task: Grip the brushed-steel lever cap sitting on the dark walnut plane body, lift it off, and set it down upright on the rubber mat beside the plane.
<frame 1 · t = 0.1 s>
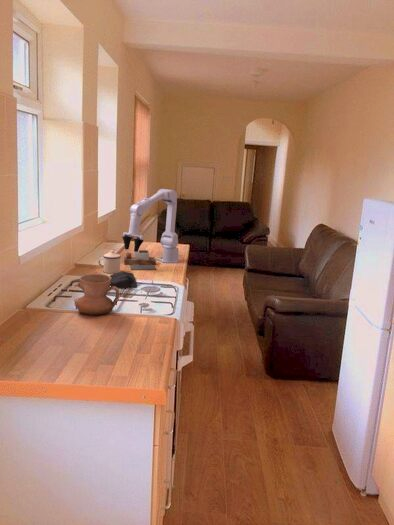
hand: (131, 250, 249), 11 cm above the counter, tool pointing down, fingers open, 7 cm apart
rubber mat: (143, 268, 255), on the counter
dark slate chunk: (121, 283, 224), on the counter
teacup with lid: (109, 271, 243), on the counter
plane body: (139, 263, 266), on the counter
ceramic jug: (96, 312, 179), on the counter
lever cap: (141, 258, 265), point 3 cm above the counter, touching plane body
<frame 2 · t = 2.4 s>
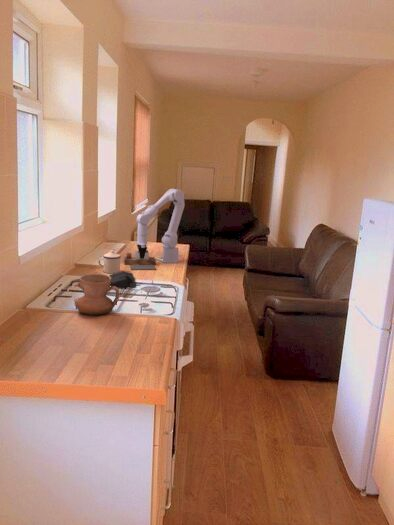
hand: (141, 257, 265), 4 cm above the counter, tool pointing down, fingers closed on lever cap, 5 cm apart
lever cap: (141, 258, 265), point 3 cm above the counter, touching gripper, plane body
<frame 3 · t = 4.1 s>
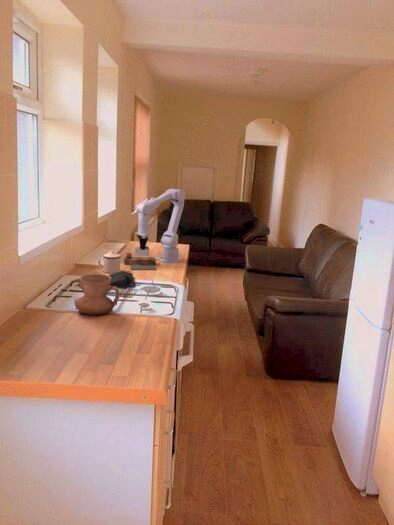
hand: (142, 248, 258), 10 cm above the counter, tool pointing down, fingers closed on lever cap, 5 cm apart
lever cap: (142, 254, 259), point 6 cm above the counter, touching gripper
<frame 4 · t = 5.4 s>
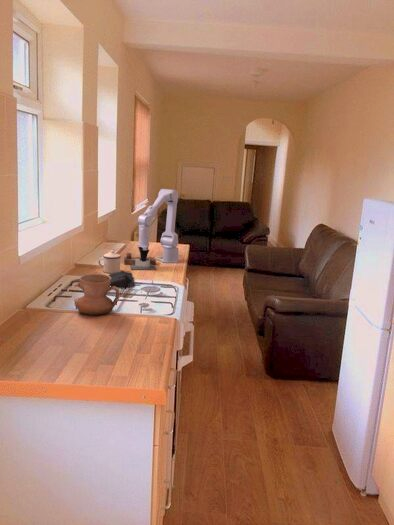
hand: (143, 260, 254), 4 cm above the counter, tool pointing down, fingers open, 4 cm apart
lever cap: (142, 266, 256), point 1 cm above the counter, touching gripper, rubber mat
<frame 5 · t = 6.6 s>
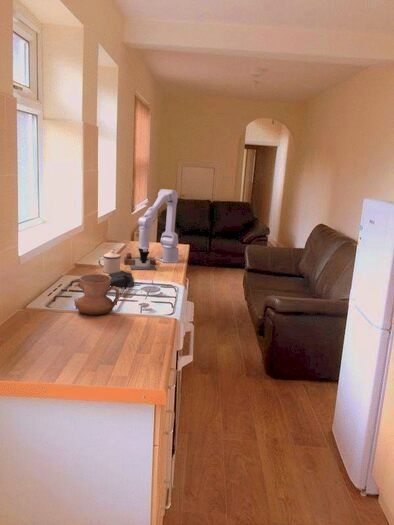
hand: (143, 262, 254), 4 cm above the counter, tool pointing down, fingers open, 5 cm apart
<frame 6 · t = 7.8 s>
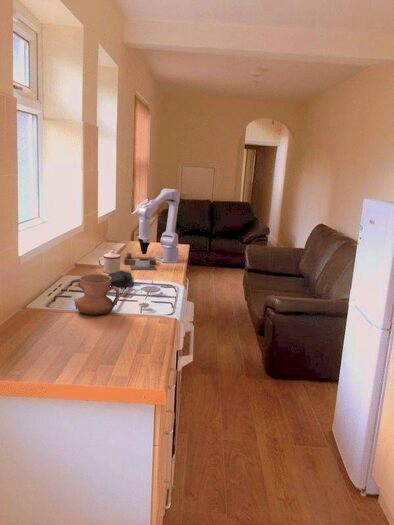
hand: (143, 252, 253), 9 cm above the counter, tool pointing down, fingers open, 7 cm apart
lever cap: (142, 266, 256), point 1 cm above the counter, touching rubber mat
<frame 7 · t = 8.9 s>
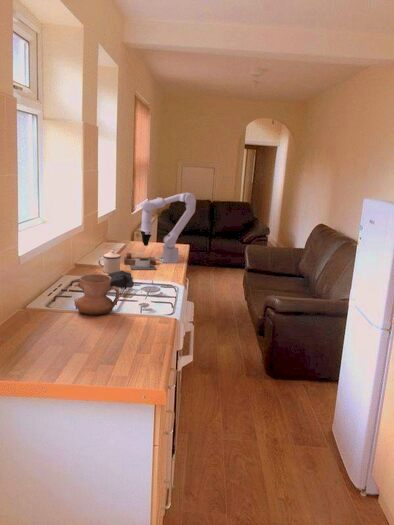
hand: (145, 244, 270), 10 cm above the counter, tool pointing down, fingers open, 7 cm apart
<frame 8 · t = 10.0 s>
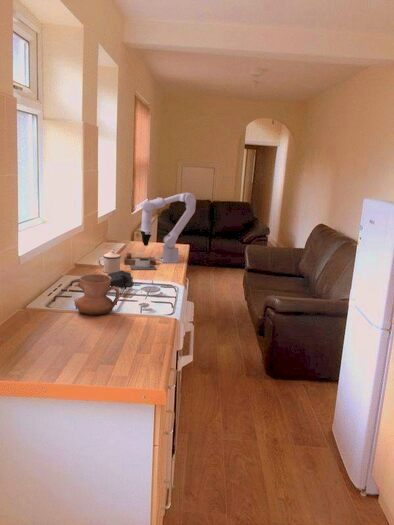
hand: (145, 244, 270), 10 cm above the counter, tool pointing down, fingers open, 7 cm apart
at the end: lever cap inside the target area on the rubber mat (1.1 cm from its centre), point 0.6 cm above the rubber mat's base; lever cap tilted 0°; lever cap touching rubber mat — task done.
